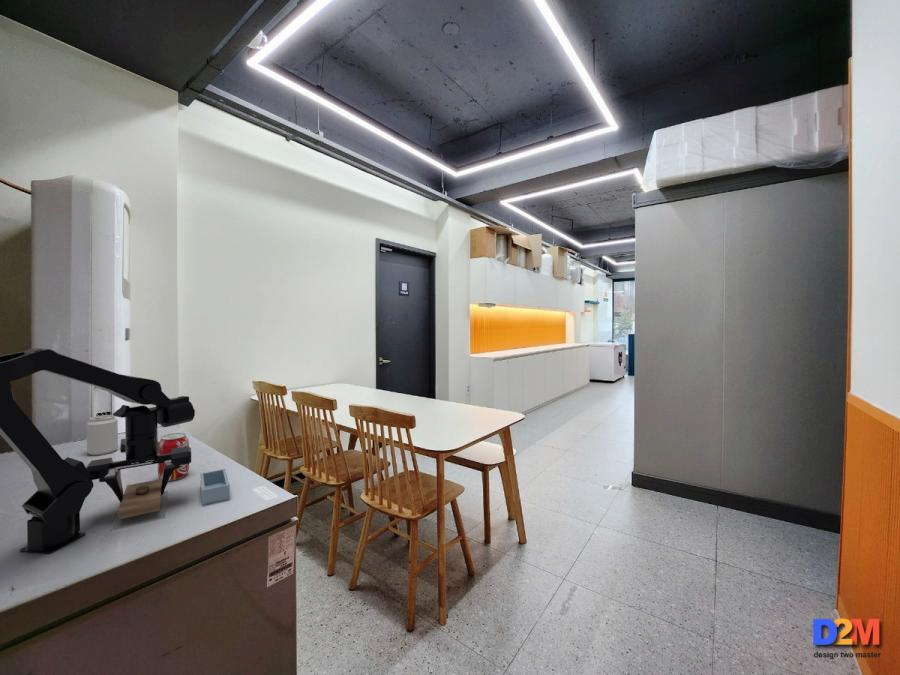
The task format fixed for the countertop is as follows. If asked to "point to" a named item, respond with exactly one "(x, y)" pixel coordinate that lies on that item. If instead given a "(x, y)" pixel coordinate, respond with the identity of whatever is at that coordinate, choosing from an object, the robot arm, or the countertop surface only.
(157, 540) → the countertop surface
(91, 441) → the can
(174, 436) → the soda can
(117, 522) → the rubber mat
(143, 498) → the walnut lid
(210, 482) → the ceramic dish
